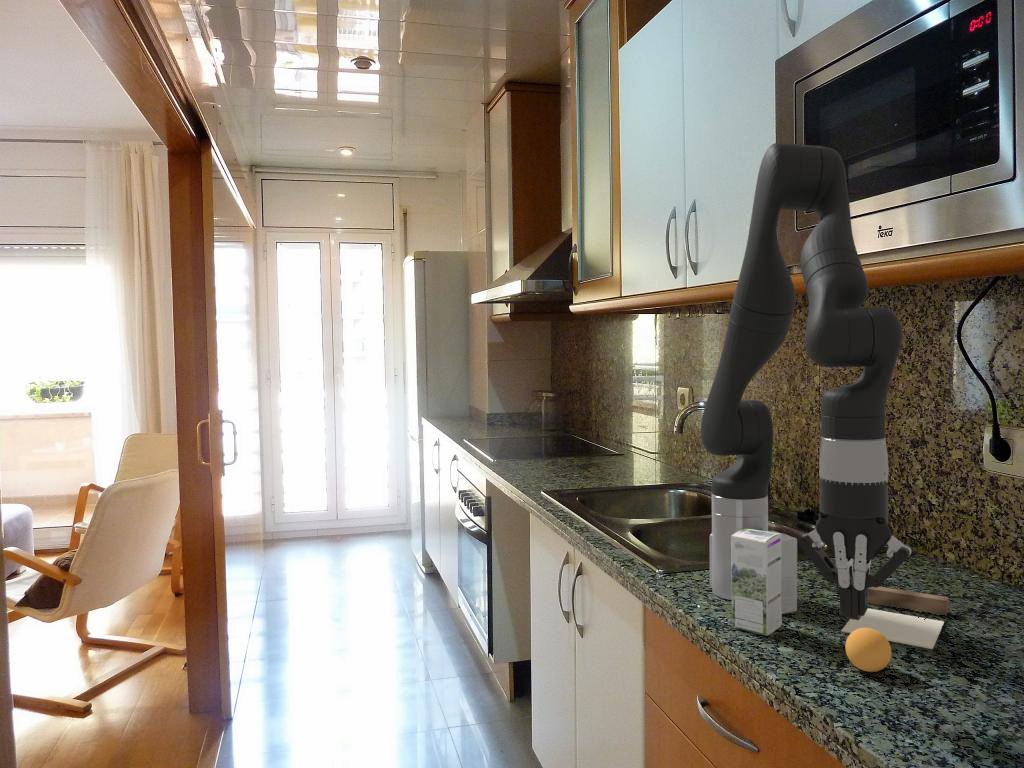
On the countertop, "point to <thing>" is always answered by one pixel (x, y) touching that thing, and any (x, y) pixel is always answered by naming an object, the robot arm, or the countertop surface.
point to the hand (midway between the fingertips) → (853, 617)
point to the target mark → (899, 627)
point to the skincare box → (788, 573)
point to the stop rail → (908, 600)
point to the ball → (868, 649)
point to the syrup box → (756, 581)
